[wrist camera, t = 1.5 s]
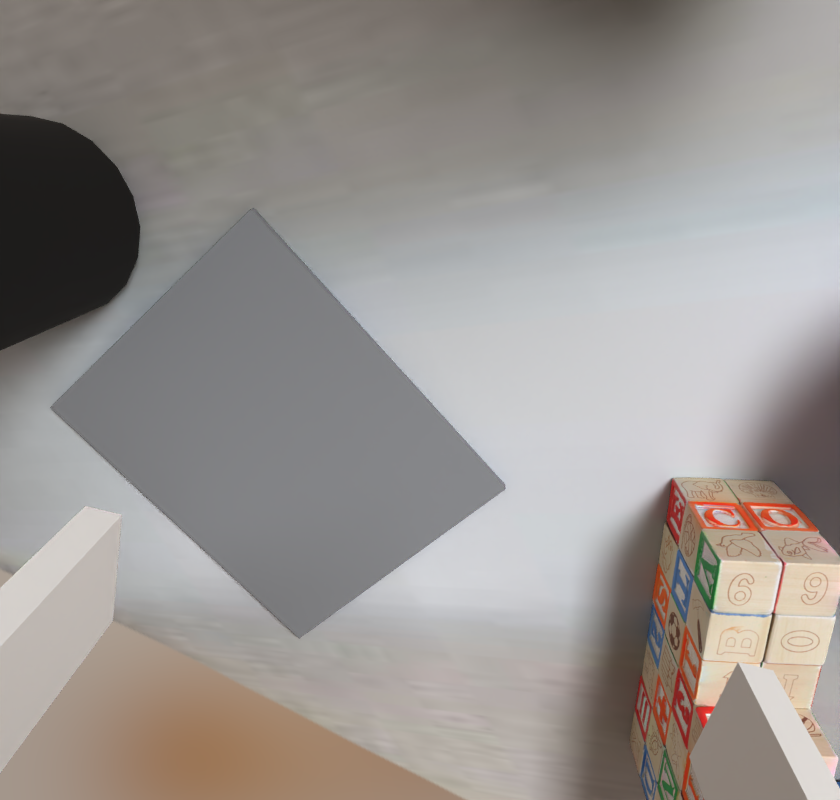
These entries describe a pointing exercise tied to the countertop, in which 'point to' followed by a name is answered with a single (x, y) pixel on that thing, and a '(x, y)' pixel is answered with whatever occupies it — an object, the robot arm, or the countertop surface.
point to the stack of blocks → (729, 619)
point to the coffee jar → (59, 227)
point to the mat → (277, 431)
